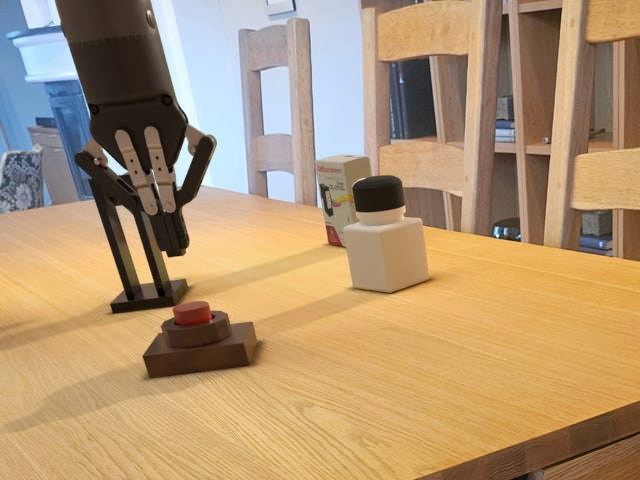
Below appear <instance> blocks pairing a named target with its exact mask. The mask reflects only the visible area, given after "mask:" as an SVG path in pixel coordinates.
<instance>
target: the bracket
mask: <svg viewBox="0 0 640 480" xmlns="http://www.w3.org/2000/svg"><path fill="white" fill-rule="evenodd" d="M120 175H121V177H122V179H123V180H124V181H125V182H126V183H127V184H128V185H129V186H130V187H132V188H133V189H134V190H135V191H136V192H137V193H138V191H137V189H136V188H135V186H134V184H133V182H132V179H131V176H130V174H129V171H126V172H125V173H122V174H120ZM87 181H88V185H89V187H90V190H91V194H92V198H93V199H94V202H95V206H96V208H97V211H98V215H99V218H100V221H101V224H102V227H103V230H104V233H105V236H106V239H107V243H108V245H109V249H110V251H111V254H112V257H113V261H114V263H115V266H116V270H117V273H118V275H119V279H120V282H121V284H122V288H123V290H122V291H121V292H120V293H118V295H117V296H116V297H115V298H114V299H113V300H111V302H110V303H109V306H110V309H111V312H112V314H118V313H119V314H120V313H126V312H135V311H136V312H137V311H143V310H151V309H160V308H168V307H175V306H177V304H178V302H179V301H180V300H181V298H182V297H183V295H185V293H186V292H187V290H188V288H189V284H188V281H187V278H178V279H171V280H170V276H169V273H168V269H167V266H166V263H165V259H164V256H163V252H161V250H160V249H159V248H158V246H157V243H156V239H155V236H154V233H153V229H152V226H151V223H150V220H149V217H148V216H147V214H145V213H144V212H142V211H138V210H134V209H133V210H132V213H133V215H132V216H133V219H134V222H135V225H136V229H137V232H138V235H139V239H140V241H141V245H142V249H143V252H144V255H145V258H146V262H147V265H148V267H149V272H150V274H151V277H152V281H153V282H146V283H140V280H139V276H138V273H137V270H136V267H135V264H134V261H133V258H132V254H131V250H130V248H129V245H128V241H127V238H126V235H125V231H124V229H123V226H122V223H121V219H120V216H119V213H118V211H117V206H115V205H114V204H113V203H112V202H111V201H110V200H109V199H108V198H107V196H106V191H105V189H104V188H102V187H101V186H100V185H99V184H98V183H97V182H96V181H95V180H93V179H92V178H91V177H90V178H88V179H87Z"/></svg>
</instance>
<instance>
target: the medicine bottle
mask: <svg viewBox="0 0 640 480" xmlns="http://www.w3.org/2000/svg"><path fill="white" fill-rule="evenodd" d="M352 193H353V199H354V205H355V211H356V217H357V218H358V219H359V220H360V222H358V223H355V224H351V225H348V226H345V227H344V228H343V232H344V238H345V244H346V247H345V248H346V249H345V250H346V255H347V260H348V266H349V273H350V278H351V283H352V287H353V288H354V289H360V290H366V291H367V290H368V291H374V292H381V293H387V294H391V293H393V292H397V291H399V290H403V289H406V288H409V287H412V286H414V285H417V284H420V283H423V282H425V281H428V280H429V279H430V273H429V272H430V271H429V264H428V256H427V255H428V254H427V247H426V240H425V231H424V223H423V219H422V217H421V218H420V217H411V216H405V215H404V214H405V213H406V212H407V210H406V202H405V194H404V187H403V181H402V180H401V178H399V176H398V177H397V176H395V175H391V174H385V175H384V174H382V175H372V176H371V177H366V178H362V179H359V180H358V181H356V182H355V183H354V184H353V186H352Z"/></svg>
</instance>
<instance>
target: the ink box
mask: <svg viewBox="0 0 640 480" xmlns="http://www.w3.org/2000/svg"><path fill="white" fill-rule="evenodd" d="M313 163H314V168H315V174H316V178H317V179H316V180H317V185H318V190H319V196H320V203H321V209H322V214H323V220H324V225H325V230H326V236H327V243H328V245H333V246H336V247H337V246H338V247H343V248H346V244H345V238H344V232H343V228H344V227H345V226H348V225H351V224H355V223H358V222H360V220H359V219H358V218H357V217H356V211H355V205H354V199H353V193H352V186H353V184H354V183H355V182H356V181H358V180H359V179H362V178H366V177H371V176H373V173H372V166H371V165H372V164H371V158H370V157H369V156H368V155H363V154H362V155H360V154H346V153H345V154H343V153H341V154H335V155H331V156H328V157H324V158H323V157H322V158H320V159H315V160H314V161H313Z"/></svg>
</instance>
